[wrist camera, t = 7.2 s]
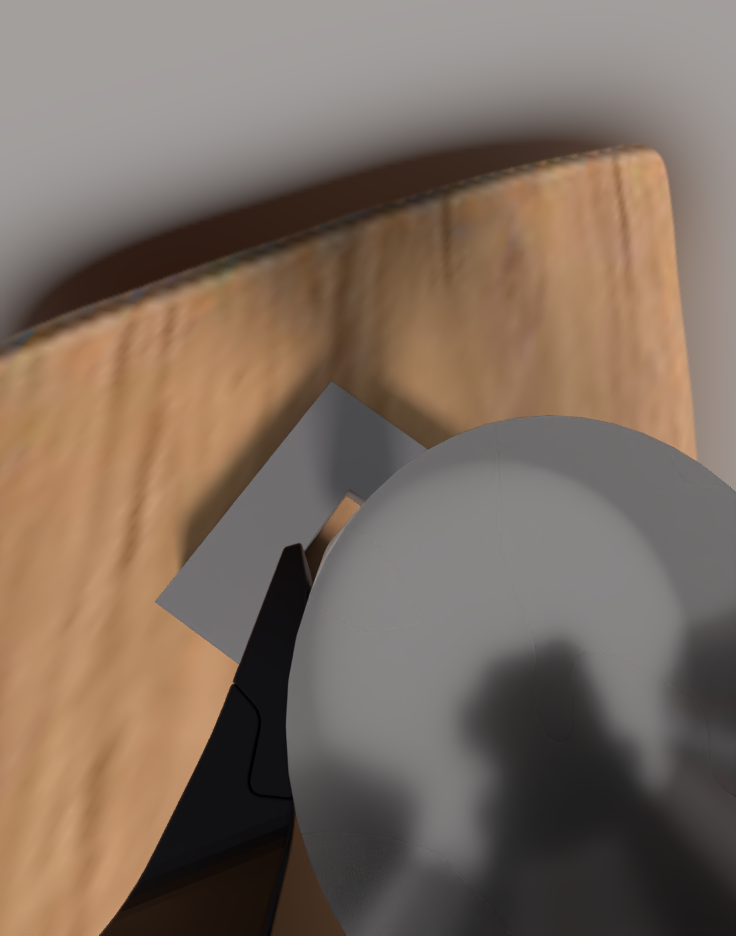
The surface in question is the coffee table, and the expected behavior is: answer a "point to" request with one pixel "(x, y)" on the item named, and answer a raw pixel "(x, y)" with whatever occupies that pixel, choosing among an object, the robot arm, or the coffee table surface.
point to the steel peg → (524, 692)
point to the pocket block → (284, 514)
